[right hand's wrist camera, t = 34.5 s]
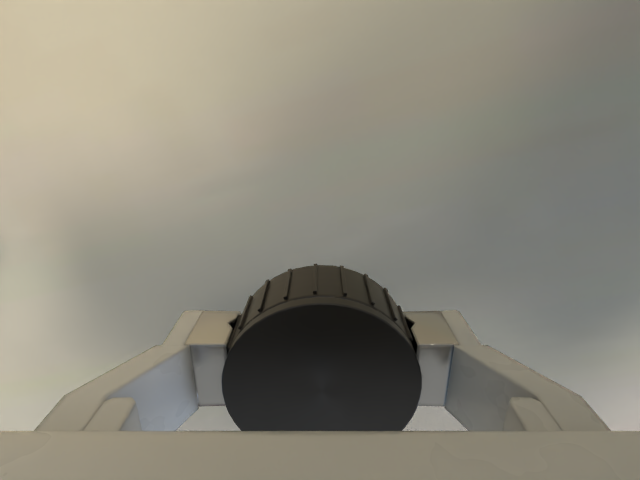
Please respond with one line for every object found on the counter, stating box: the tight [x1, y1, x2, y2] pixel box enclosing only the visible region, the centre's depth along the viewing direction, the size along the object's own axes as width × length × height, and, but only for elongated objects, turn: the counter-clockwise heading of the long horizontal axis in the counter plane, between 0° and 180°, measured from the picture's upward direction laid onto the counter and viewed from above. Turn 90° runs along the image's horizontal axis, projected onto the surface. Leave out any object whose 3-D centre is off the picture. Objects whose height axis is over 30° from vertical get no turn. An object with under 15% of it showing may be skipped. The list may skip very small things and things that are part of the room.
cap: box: [221, 264, 422, 431], centre depth 9 cm, size 5×5×2 cm
